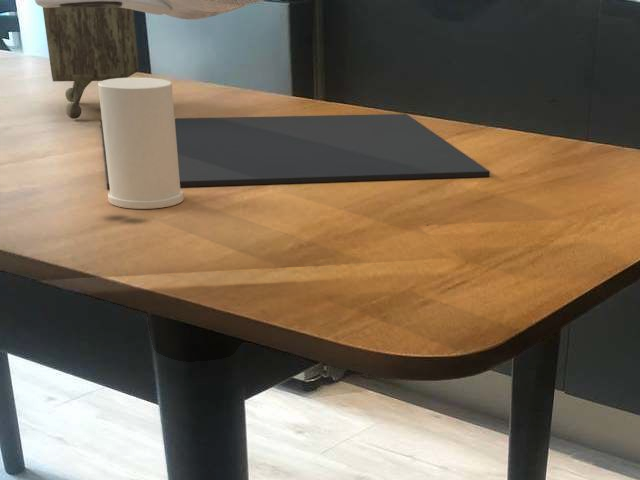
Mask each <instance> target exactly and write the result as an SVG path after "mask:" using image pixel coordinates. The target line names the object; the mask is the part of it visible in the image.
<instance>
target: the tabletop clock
mask: <svg viewBox="0 0 640 480" xmlns="http://www.w3.org/2000/svg"><path fill="white" fill-rule="evenodd" d="M42 12H43V20H44V27H45V35H46V42H47V43H46V44H47V50H48V58H49V65H50V73H51V78H52V82H73V84H72V87H69V88H67V89H66V90H65V94H64V95H65V99H66V100H67V101H68V102H69V104H67V105H66V107H65V112H66V115H67V116H68V117H69V118H70V119H73V120H75V119H79V118H80V117H81V115H82V114H83V113H82V112H83V111H82V108H81V106H80V105H79V104H80V101H81V99H82V96H83V95H84V92H85V89H87V87H88V86H89V85H90V84H91V83H92V82H101V81H103V80H108V79H115V78H130V77H132V76H133V75H134V74H136V73H138V72H139V59H138V58H139V57H138V46H137V35H136V34H137V33H136V24H135V13H134V10H132V9H126V8H119V7H118V8H97V7H87V8H61V7H51V8H44V7H42ZM72 102H73V103H72Z"/></svg>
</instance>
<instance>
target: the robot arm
mask: <svg viewBox="0 0 640 480" xmlns="http://www.w3.org/2000/svg"><path fill="white" fill-rule="evenodd" d="M34 1H35V4H36V5H37V6H39V7H41V8H43V7H44V8H51V7H61V8H87V7H97V8H118V7H119V8H126V9H132V10H133V11H137V12H141V13H146V14H151V15H158V16H162V15H163V16H164V15H166V16H169V17H171V18H176V19H182V20H204V19H208V18H212V17H215V16H217V15H219V16H220V15H222V14H226V13H228V12H231V11H235V10H238V9H240V8H244V7H245V6H247V5H252V4H257V3H261V2H264V1H265V0H34Z"/></svg>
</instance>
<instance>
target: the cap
mask: <svg viewBox="0 0 640 480" xmlns="http://www.w3.org/2000/svg"><path fill="white" fill-rule="evenodd" d="M97 87H98V89H97V90H98V97H99V106H100V114H101V115H100V116H101V120H102V124H103V133H104V142H105V151H106V160H107V169H108V178H109V187H110V190H109V191H108V192H107V198H108V203H109V204H110V205H112V206H116V207H119V208H124V209H131V210H132V209H134V210H151V209H152V210H153V209H162V208H168V207H173V206H176V205H179V204H181V203H182V202H183V201H184V198H185V197H184V191H183V189H181V187H180V178H179V166H178V154H177V141H176V129H175V118H176V117H175V106H174V105H175V104H174V93H173V92H174V91H173V83H172V81H170V80H168V79H163V78H156V77H127V78H115V79H108V80H103V81H98V83H97Z"/></svg>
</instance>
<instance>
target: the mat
mask: <svg viewBox="0 0 640 480" xmlns="http://www.w3.org/2000/svg"><path fill="white" fill-rule="evenodd" d="M99 121H100V131H101V141H102V151H103V161H104V171H105V172H104V173H105V180H106V188H107V190H109V191H110V187H109V178H108V169H107V160H106V151H105V142H104V133H103V124H102V119H100V120H99ZM175 129H176V141H177V154H178V166H179V178H180V188H194V187H195V188H197V187H198V188H199V187H221V186H222V187H225V186H253V185H284V184H285V185H286V184H287V185H288V184H310V183H311V184H316V183H342V182H343V183H344V182H345V183H346V182H371V181H373V182H374V181H375V182H376V181H399V180H400V181H403V180H404V181H405V180H432V179H461V178H462V179H463V178H489V177H490V173H491V172H490V170H489V169H487V168H486V167H484V166H483V165H481V164H480V163H478V162H477V161H475V160H474V159H473V158H471V156H469V155H467V154H465V153H464V152H462V151H461V150H460V149H458V148H457V147H455V146H454V145H452V144H451V143H449V142H448V141H446V140H445V139H444V138H443V137H441V136H440V135H438V134H436V133H435V132H434V131H432V130H431V129H429V128H428V127H426V126H425V125H423V124H422V123H421V122H419V121H417V120H416V119H415V118H414V117H412V116H410V115H409V114H407V113H390V114H388V113H385V114H384V113H383V114H334V115H327V114H326V115H279V116H277V115H276V116H275V115H274V116H232V117H231V116H230V117H229V116H227V117H224V116H223V117H222V116H221V117H177V118H176V117H175Z"/></svg>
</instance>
